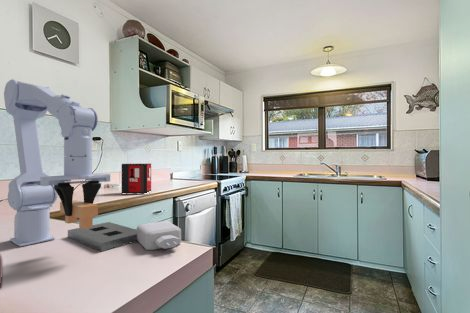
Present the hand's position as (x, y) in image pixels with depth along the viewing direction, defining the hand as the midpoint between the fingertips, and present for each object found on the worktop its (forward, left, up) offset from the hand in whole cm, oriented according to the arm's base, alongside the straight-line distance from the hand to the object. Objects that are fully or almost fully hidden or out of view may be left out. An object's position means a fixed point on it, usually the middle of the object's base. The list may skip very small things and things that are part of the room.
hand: (78, 214), depth 61 cm
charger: (+12, +15, -10) cm, 22 cm away
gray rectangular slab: (-7, +10, -9) cm, 15 cm away
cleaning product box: (-90, +72, -10) cm, 116 cm away
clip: (0, 0, -2) cm, 3 cm away
